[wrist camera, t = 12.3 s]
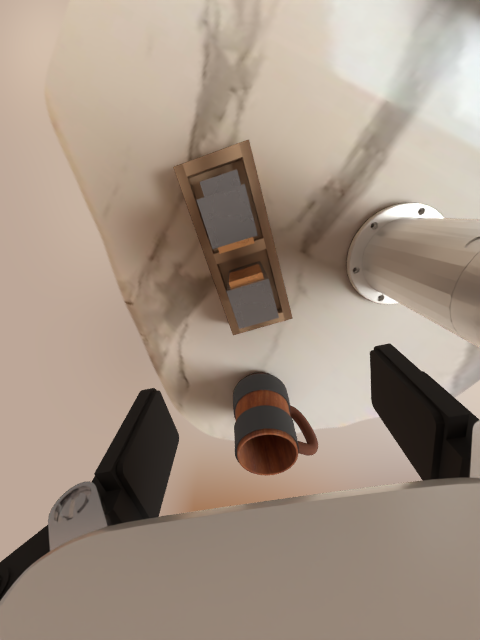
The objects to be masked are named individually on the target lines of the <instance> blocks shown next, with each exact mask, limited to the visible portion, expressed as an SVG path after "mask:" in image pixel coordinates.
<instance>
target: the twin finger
mask: <svg viewBox="0 0 480 640" xmlns="http://www.w3.org/2000/svg"><path fill="white" fill-rule="evenodd" d="M227 294H228V297H229V300H230V303H231V306H232V309H233V312H234V315H235V318H236V321H237V324H238V327H239V329H241V328H245V327H248V326H252V325H255V324H259V323H262V322H266V321H269V320H273V319H276V318H279V315H278V311H277V308H276V304H275V300H274V296H273V293H272V289H271V285H270V281H269V278H268V276H267V274H266V272H265V270H264V268H263V266H262V264H261V262H260V261H258V262H254V263H251V264H248V265H245V266H241V267H238V268H235V269H232V270H229V274H228V283H227Z"/></svg>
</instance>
